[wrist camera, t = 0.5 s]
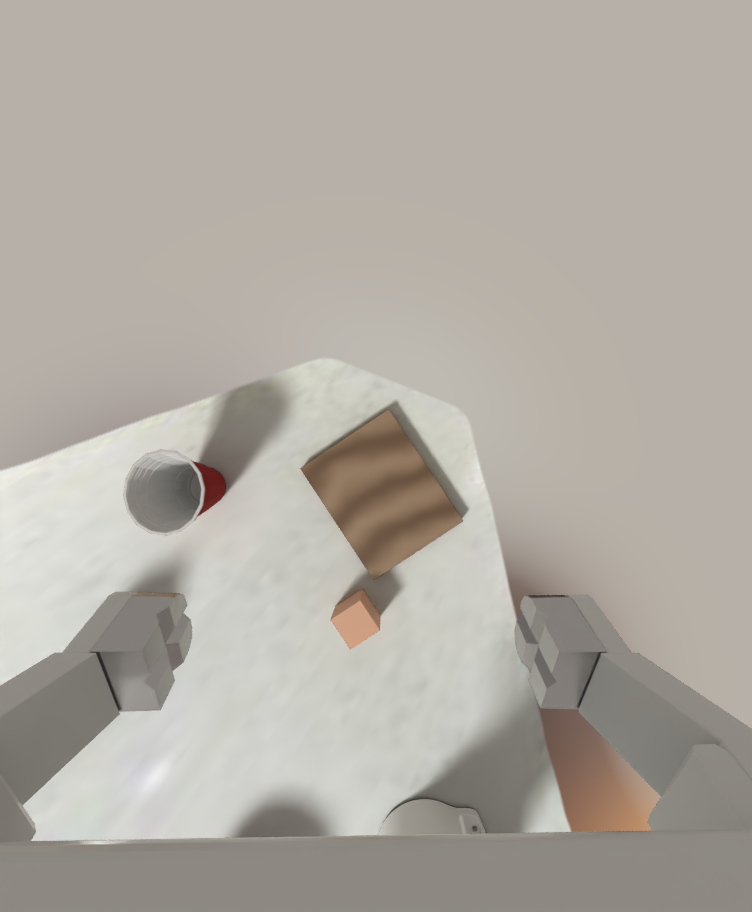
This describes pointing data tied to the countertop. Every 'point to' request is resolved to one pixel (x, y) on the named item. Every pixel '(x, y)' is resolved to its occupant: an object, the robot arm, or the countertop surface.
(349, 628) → the cube
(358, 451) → the walnut board
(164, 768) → the countertop surface
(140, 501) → the plastic cup
